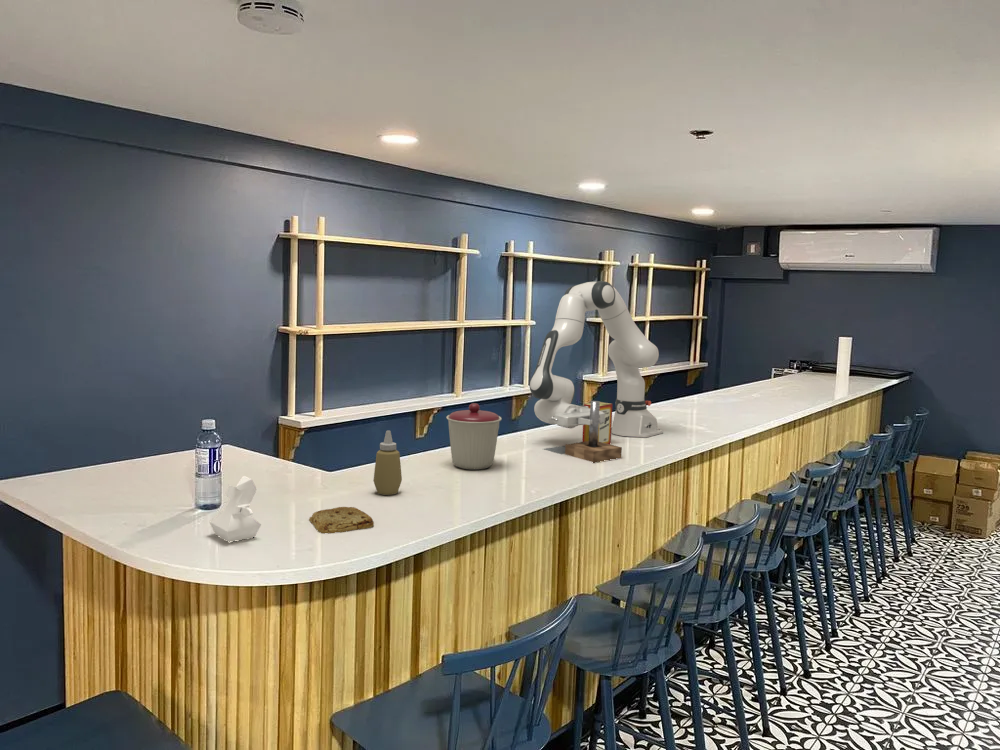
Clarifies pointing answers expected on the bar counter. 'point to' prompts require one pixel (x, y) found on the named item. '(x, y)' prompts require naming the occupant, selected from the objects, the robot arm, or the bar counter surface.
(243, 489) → the white faceted figurine
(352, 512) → the pastry
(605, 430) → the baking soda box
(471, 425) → the canister
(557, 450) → the mat
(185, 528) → the bar counter surface
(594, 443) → the pin
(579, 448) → the hole block
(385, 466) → the squeeze bottle
